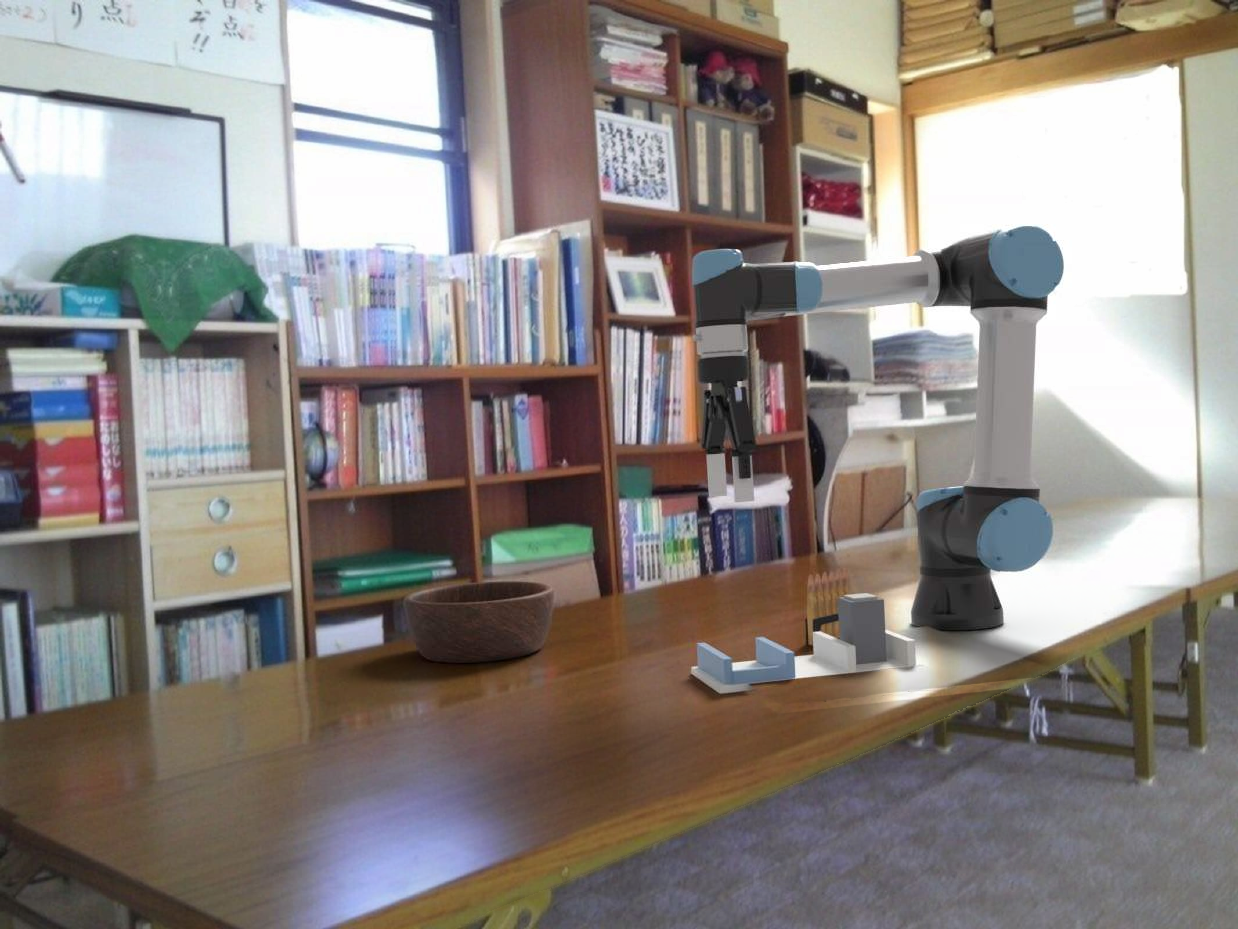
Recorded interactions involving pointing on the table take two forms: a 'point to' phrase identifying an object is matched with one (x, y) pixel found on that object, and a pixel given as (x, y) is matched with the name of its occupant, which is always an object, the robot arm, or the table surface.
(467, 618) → the wooden bowl
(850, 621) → the plug
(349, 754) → the table surface
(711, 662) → the slotted holder tray
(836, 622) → the ammunition clip
